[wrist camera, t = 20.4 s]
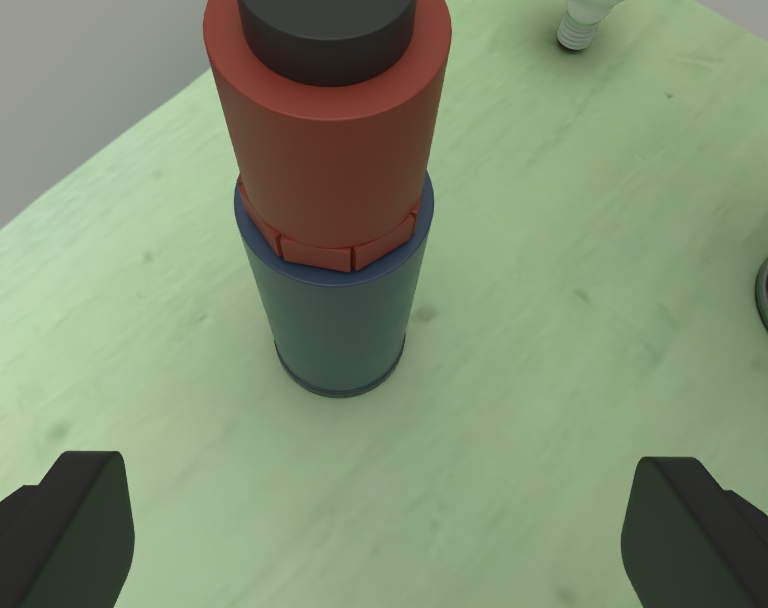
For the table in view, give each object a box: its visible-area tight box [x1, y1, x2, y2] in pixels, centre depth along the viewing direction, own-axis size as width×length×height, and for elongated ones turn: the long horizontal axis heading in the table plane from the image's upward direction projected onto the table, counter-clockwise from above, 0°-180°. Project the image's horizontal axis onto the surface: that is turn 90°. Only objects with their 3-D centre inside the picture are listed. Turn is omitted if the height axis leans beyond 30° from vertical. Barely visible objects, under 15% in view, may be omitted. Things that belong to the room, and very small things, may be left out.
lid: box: [203, 0, 452, 272], centre depth 19 cm, size 6×6×10 cm
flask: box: [234, 170, 434, 398], centre depth 30 cm, size 8×8×17 cm
